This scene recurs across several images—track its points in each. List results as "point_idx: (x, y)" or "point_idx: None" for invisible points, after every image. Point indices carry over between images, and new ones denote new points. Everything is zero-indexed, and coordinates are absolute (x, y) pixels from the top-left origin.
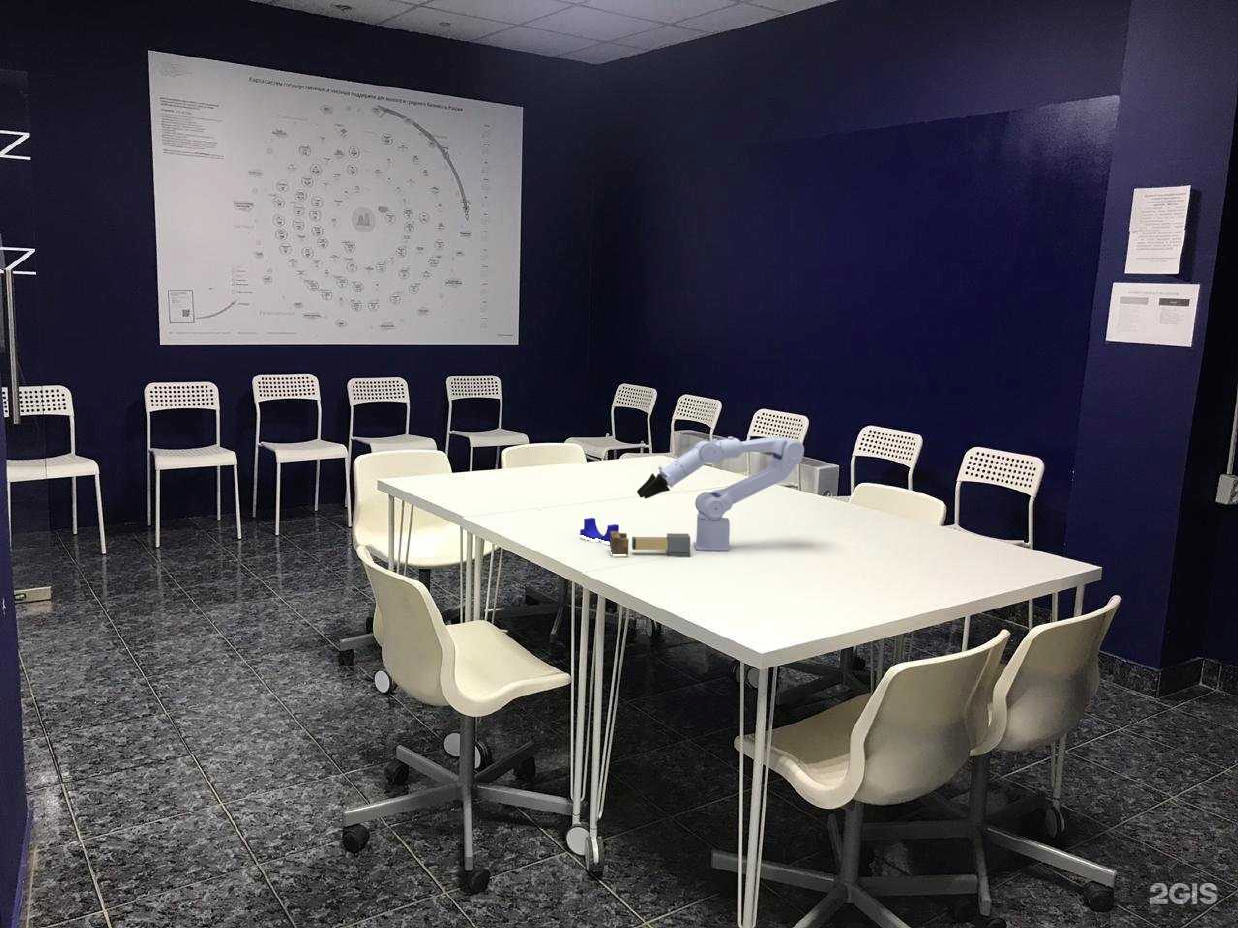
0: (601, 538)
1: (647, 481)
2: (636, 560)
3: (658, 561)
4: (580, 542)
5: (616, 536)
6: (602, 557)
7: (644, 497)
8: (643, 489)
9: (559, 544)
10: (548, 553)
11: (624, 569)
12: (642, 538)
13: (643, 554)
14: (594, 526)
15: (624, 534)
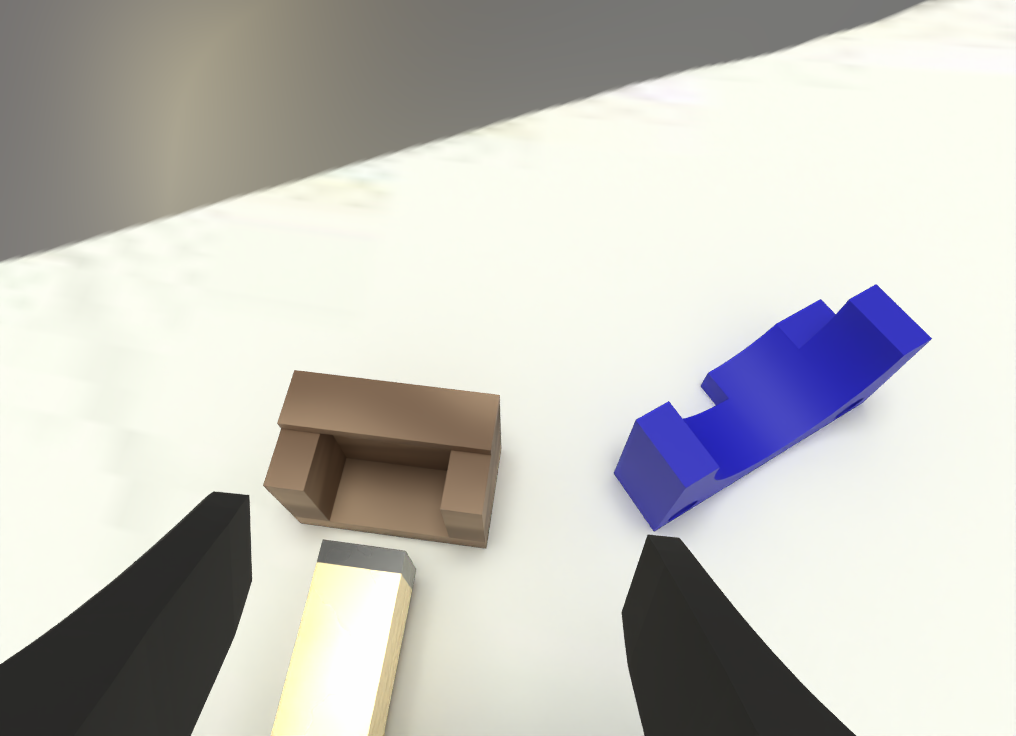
0: (695, 418)
1: (754, 727)
2: None
3: None
4: (700, 320)
5: (321, 403)
6: None
7: (247, 564)
8: (669, 641)
9: (649, 219)
10: (463, 157)
11: (33, 441)
12: (333, 625)
13: None
14: (853, 374)
15: (443, 493)
